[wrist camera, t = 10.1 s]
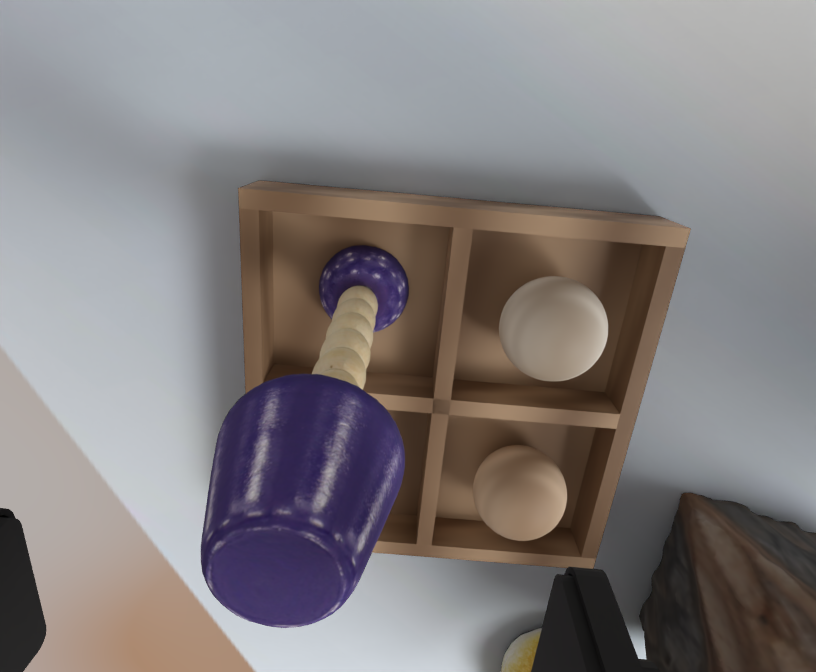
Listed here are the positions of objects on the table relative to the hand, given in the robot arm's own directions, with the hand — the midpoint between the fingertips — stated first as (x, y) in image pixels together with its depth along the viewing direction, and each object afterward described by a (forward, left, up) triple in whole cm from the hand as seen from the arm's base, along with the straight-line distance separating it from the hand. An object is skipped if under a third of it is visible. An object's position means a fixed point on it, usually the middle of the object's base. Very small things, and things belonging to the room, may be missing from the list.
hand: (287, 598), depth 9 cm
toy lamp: (0, 0, -17) cm, 17 cm away
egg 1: (-8, 0, -17) cm, 19 cm away
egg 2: (-8, +9, -17) cm, 21 cm away
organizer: (-4, +4, -18) cm, 19 cm away
